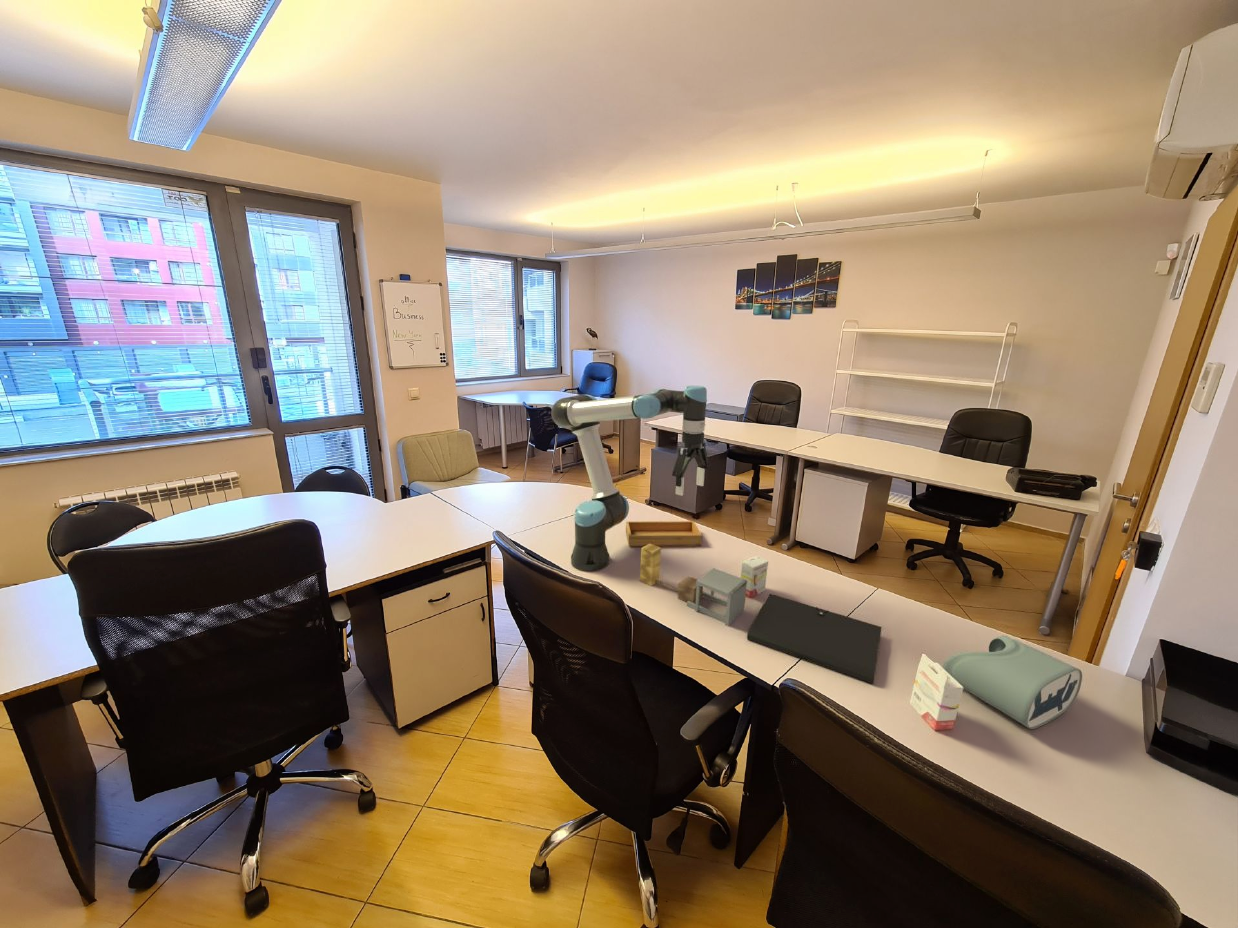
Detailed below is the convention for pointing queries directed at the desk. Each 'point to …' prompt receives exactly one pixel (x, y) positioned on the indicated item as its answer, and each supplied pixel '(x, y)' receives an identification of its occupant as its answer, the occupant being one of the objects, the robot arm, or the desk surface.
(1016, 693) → the green hollow piece
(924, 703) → the ink cartridge box
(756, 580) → the ink box
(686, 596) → the block
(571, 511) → the desk surface
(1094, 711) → the desk surface
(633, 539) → the tray
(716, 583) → the box
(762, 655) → the desk surface
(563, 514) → the desk surface
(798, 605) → the file folder
